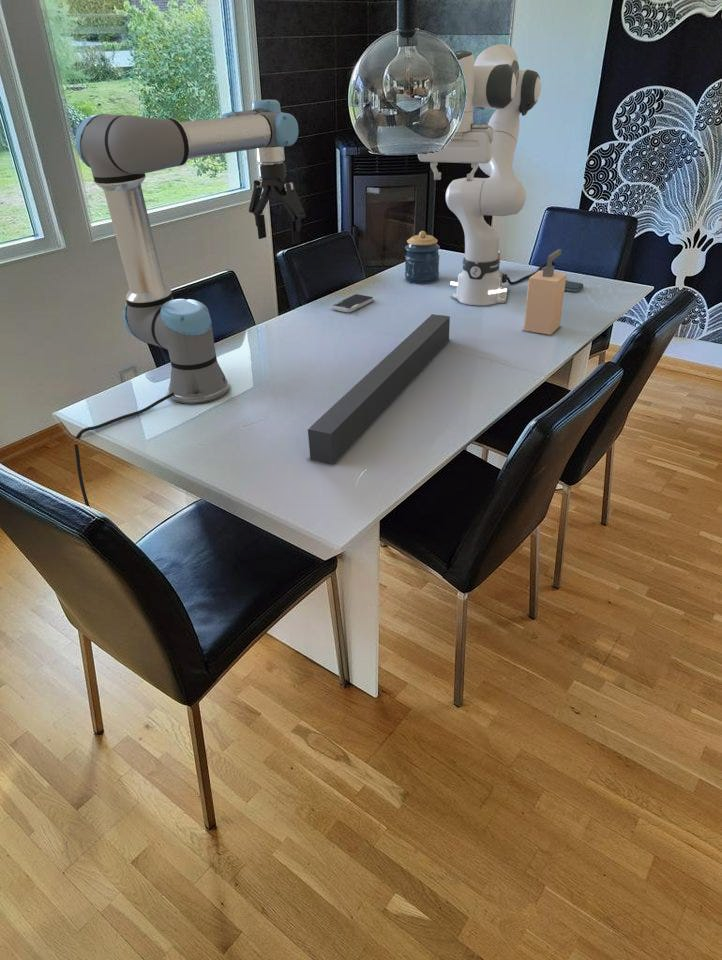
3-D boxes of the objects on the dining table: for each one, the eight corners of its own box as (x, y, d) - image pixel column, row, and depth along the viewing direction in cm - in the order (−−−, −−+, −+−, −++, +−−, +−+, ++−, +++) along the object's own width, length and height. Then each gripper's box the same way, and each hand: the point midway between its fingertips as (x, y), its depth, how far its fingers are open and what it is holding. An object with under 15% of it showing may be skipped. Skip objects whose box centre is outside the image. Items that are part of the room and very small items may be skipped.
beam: (333, 464, 144) (331, 433, 140) (310, 459, 146) (307, 429, 142) (449, 340, 202) (449, 316, 198) (431, 338, 204) (432, 314, 200)
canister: (411, 285, 249) (411, 236, 239) (400, 276, 259) (400, 228, 250) (444, 281, 252) (445, 232, 242) (431, 272, 262) (432, 225, 253)
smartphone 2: (577, 289, 235) (536, 281, 242) (576, 293, 236) (535, 286, 243) (584, 283, 240) (544, 276, 247) (583, 287, 241) (543, 280, 248)
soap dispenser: (550, 335, 203) (559, 261, 191) (523, 330, 207) (530, 257, 195) (564, 322, 212) (573, 250, 200) (538, 317, 216) (545, 247, 204)
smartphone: (373, 297, 235) (349, 309, 225) (373, 300, 236) (349, 313, 226) (355, 294, 239) (330, 305, 229) (356, 297, 240) (331, 309, 229)
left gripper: (314, 163, 185) (319, 242, 197) (249, 158, 198) (257, 233, 209) (296, 167, 180) (302, 248, 192) (231, 162, 193) (240, 238, 204)
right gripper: (497, 123, 176) (493, 179, 184) (424, 122, 184) (423, 177, 191) (490, 125, 171) (487, 183, 179) (416, 124, 179) (415, 180, 186)
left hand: (279, 240), depth 200 cm, fingers open, 13 cm apart
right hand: (453, 180), depth 185 cm, fingers open, 8 cm apart
